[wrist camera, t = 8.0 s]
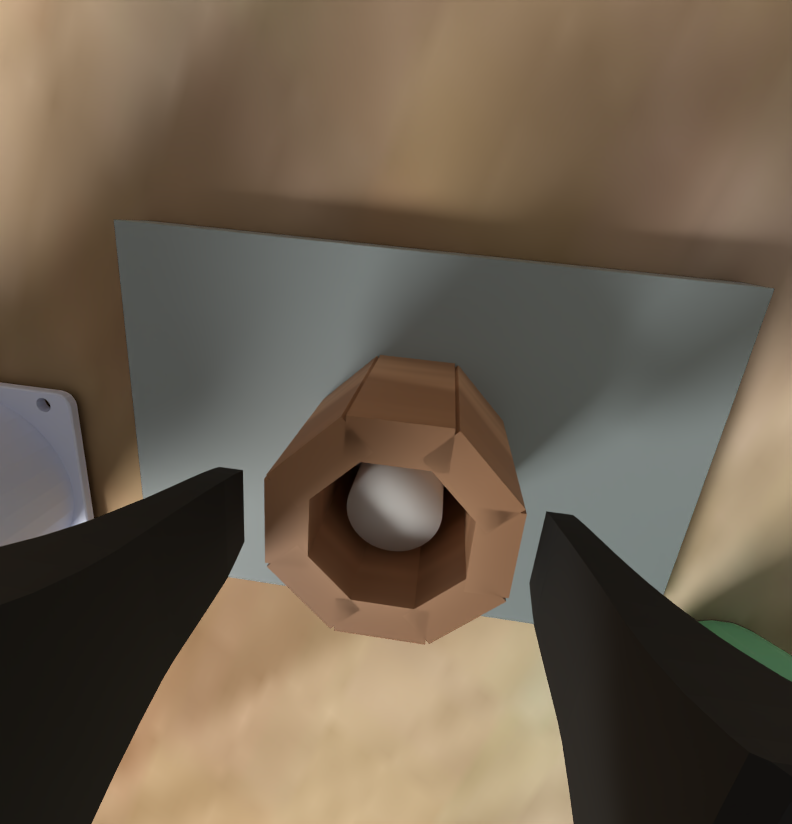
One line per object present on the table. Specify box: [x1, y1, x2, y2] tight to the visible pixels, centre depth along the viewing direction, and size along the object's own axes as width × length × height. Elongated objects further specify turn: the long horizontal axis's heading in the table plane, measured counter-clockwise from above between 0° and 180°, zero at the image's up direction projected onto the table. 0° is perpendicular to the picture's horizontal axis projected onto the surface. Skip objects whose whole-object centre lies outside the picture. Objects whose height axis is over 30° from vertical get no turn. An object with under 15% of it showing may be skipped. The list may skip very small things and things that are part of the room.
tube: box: [264, 355, 527, 644], centre depth 13 cm, size 6×6×5 cm
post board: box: [114, 220, 774, 624], centre depth 15 cm, size 18×12×5 cm, turn 85°
